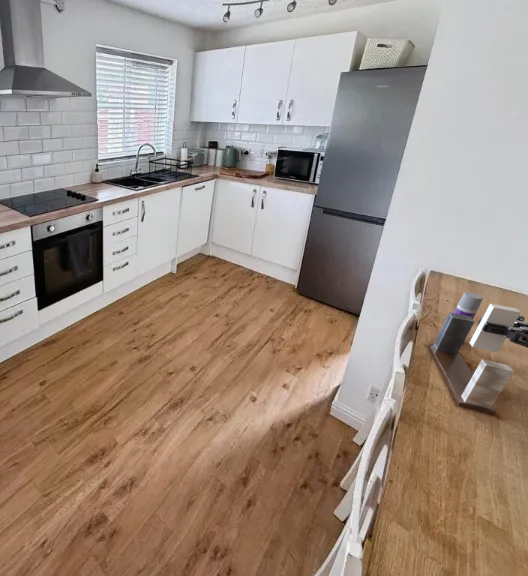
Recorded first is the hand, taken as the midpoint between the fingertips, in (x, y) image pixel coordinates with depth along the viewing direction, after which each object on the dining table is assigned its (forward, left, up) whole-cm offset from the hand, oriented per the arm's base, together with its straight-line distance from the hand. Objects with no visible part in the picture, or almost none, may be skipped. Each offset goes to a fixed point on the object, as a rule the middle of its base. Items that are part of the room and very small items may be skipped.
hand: (482, 324), depth 87 cm
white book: (-2, 0, -6) cm, 6 cm away
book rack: (-2, -4, -18) cm, 18 cm away
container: (-7, -27, -18) cm, 33 cm away
